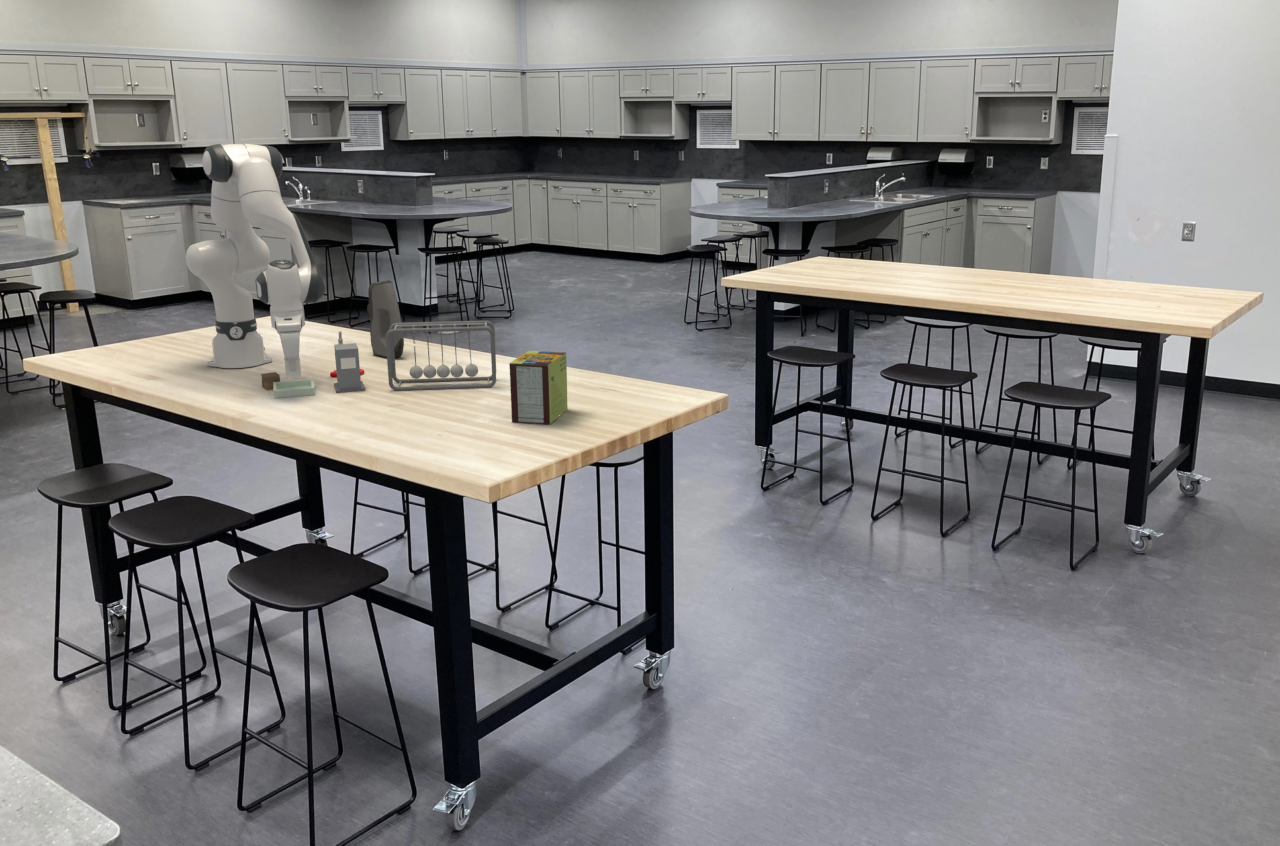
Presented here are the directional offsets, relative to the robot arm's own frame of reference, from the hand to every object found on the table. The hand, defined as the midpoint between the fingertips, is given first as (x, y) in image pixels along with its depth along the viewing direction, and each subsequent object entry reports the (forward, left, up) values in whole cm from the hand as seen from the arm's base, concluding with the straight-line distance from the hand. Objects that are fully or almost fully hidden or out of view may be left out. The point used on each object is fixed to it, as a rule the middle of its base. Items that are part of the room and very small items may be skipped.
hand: (292, 369), depth 294 cm
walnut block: (-8, -6, -7) cm, 12 cm away
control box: (0, +15, -7) cm, 16 cm away
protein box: (+48, +59, -7) cm, 76 cm away
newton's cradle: (+6, +41, -7) cm, 42 cm away
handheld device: (-40, +31, -7) cm, 51 cm away
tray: (0, 0, -7) cm, 7 cm away
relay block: (0, 0, -2) cm, 2 cm away
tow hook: (-18, +16, -7) cm, 25 cm away
